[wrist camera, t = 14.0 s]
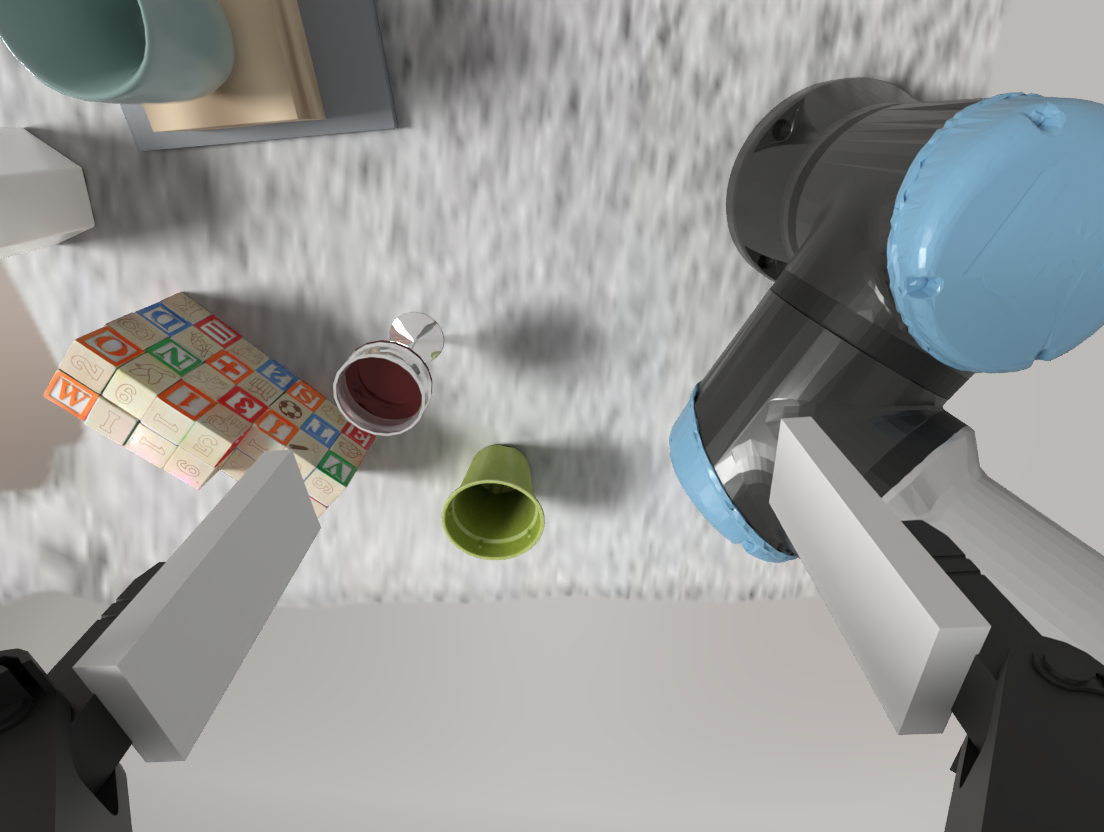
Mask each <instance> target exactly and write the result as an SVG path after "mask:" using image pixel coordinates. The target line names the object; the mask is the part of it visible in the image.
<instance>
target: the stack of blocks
mask: <svg viewBox="0 0 1104 832" xmlns="http://www.w3.org/2000/svg"><path fill="white" fill-rule="evenodd" d="M59 368H60V369H58V370H57V371H56V373H55V374H54V376H53V378H52V380H51V382H50V384H49V385H48V387H47V389H46V391H45V393H44V397H45V398H47V399H48V400H50V401H52V402H53V403H55V404H56V405H58V406H60V407H62V408H63V409H65V410H66V411H68V412H69V413H71V414H73V415H74V416H76V417H78V418H79V419H81V420H83V421H85V424H86V425H87V426H89V427H90V428H92V429H94V430H95V431H97V432H99V433H100V434H102V435H104V436H105V437H107V438H109V439H110V440H112V441H114V442H116V443H117V444H119V445H121V446H123V445H125V447H126V448H127V449H128V450H130V451H131V452H133V453H135V454H136V455H138V456H140V457H141V458H143V459H145V460H147V461H148V462H150V463H152V464H153V465H155V466H157V467H159V468H163V469H164V471H166V472H168V473H169V474H171V475H173V476H175V477H176V478H178V479H180V480H181V481H183V482H185V483H186V484H188V485H190V486H192V487H193V488H195V489H197V490H199V489H200V488H201V487H202V486H203V485H204V484H205V483H206V482H207V481H208V480H209V479H211V478H212V477H213V476H214V475H215V474H216V473H217V472H218V471H219V470H221V471H222V472H224V473H226V474H227V475H229V476H230V477H232V478H234V479H235V480H237V481H239V480H240V478H241V477H242V476H243V475H244V474H245V473H246V472H247V471H248V469H249V468H250V467H251V466H252V465H253V464H254V463H255V462H256V461H257V459H258V458H259V457H260V456H261V455H262V454H263V453H264V452H265V451H275V450H291V449H292V450H293V453H294V456H295V459H296V461H297V464H298V467H299V470H300V472H301V475H302V478H303V480H304V483H305V486H306V489H307V491H308V494H309V497H310V500H311V502H312V505H313V508H314V510H315V513H316V516H317V519H318V518H319V516H320V515H321V514H322V513H323V512H324V511H325V510H326V509H327V508H328V506H329V505H330V504H331V503H332V502H333V501H334V500H335V499H336V498H337V497H338V496H339V495H340V494H341V493H342V492H343V491H344V490H345V489H346V487H347V486H348V484H349V483H350V481H351V479H352V477H353V476H354V474H355V472H356V470H357V467H358V466H359V464H360V463H361V461H362V459H363V458H364V456H365V455H366V453H367V450H368V449H369V447H370V446H371V444H372V442H373V441H374V439H375V435H374V434H371V433H368V432H366V431H363V430H360V429H359V428H357V427H356V426H355V425H353V424H352V423H350V422H349V421H348V420H347V419H346V418H345V417H344V415H343V414H342V413H341V412H340V411H339V408H338V407H337V406H336V405H334V404H333V403H332V402H330V401H329V400H327V399H325V398H324V397H323V396H322V395H321V394H319V393H318V392H317V391H315V390H314V389H313V388H311V387H310V386H309V385H307V384H306V383H305V382H303V381H302V380H300V379H298V378H297V377H296V376H294V375H293V374H291V373H290V372H289V371H287V370H286V369H285V368H283V367H282V366H280V365H279V364H278V363H276V362H275V361H274V360H272V359H270V358H269V357H268V356H267V355H265V354H264V353H262V352H261V351H260V350H258V349H257V348H256V347H254V346H253V345H252V344H250V343H249V342H247V341H246V340H245V339H243V338H242V336H240V335H239V334H238V333H236V332H235V331H234V330H232V329H231V328H230V327H228V326H227V325H226V324H224V323H223V322H222V321H220V320H219V319H217V318H216V317H215V316H213V315H212V314H211V313H210V312H208V311H207V310H206V309H204V308H203V307H202V306H200V305H199V304H198V303H196V302H195V301H194V300H192V299H191V298H189V297H188V296H187V295H185V294H184V293H182V292H180V293H177V294H175V295H173V296H171V297H168V298H166V299H164V300H162V301H160V302H158V303H156V304H153V305H151V306H148V307H146V308H144V309H141V310H139V311H136V312H135V313H130V314H128V315H125V316H123V317H120V318H118V319H116V320H113V321H111V322H109V323H107V324H105V326H104V327H103V328H100V329H98V330H96V331H93V332H91V333H89V334H86V335H84V336H82V337H80V338H77V339H75V340H74V341H73V343H72V345H71V347H70V348H69V350H68V352H67V353H66V355H65V357H64V358H63V360H62V362H61V363H60V365H59Z"/></svg>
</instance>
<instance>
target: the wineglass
mask: <svg viewBox="0 0 1104 832" xmlns="http://www.w3.org/2000/svg"><path fill="white" fill-rule="evenodd" d="M443 343H444V337H443V334H442V330H441V329H440V327H439V326H438V324H437V323H436V322H435V321H434V320H433V319H432V318H430V317H429V316H427V315H424V314H422V313H415V312H411V313H405V314H403V315H401V316H399V317H398V318H397V319H396V320H395V321H394V322H393V323H392V326H391V329H390V341H384V340H381V341H375V342H370V343H366V344H365V345H363V346H361V347H359V348H358V349H356V350H355V351H354V352H353V353H352V354H351V355H350V357H349V358H348V359H347V360H346V362H345V363H344V365H343V366H342V367H341V368H340V370H339V371H338V372H337V373H336V377H335V380H334V383H333V392H334V399H335V401H336V404H337V406H338V408H339V411H340V412H341V413H342V414H343V415H344V417H345V418H346V419H347V420H348V421H349V422H350V423H352V424H353V425H355V426H356V427H357V428H359V429H360V430H363V431H366V432H368V433H371V434H374V435H382V436H391V435H397V434H401V433H403V432H405V431H407V430H409V429H411V428H413V426H414V425H415V424H416V423H417V422H418V421H419V420H420V419H421V416H422V414H423V411H424V409H425V408H426V407H427V405H428V403H429V400H430V398H431V394H432V378H431V375H430V372H429V369H428V366H427V365H426V363H425V362H429V361H431V360H433V359H435V358H436V357H437V356H438V355H439V354H440V353H441V350H442V348H443Z"/></svg>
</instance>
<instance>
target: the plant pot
mask: <svg viewBox="0 0 1104 832" xmlns="http://www.w3.org/2000/svg"><path fill="white" fill-rule="evenodd" d="M507 486H510V487H507ZM441 519H442V526H443V529H444V532H445V534H446V535H447V537H448V538H449V540H450V541H451V542H452V543H453V544H454V545H455V546H456V547H457V548H459V549H460V550H462V551H463V552H465V553H467V554H469V555H471V556H474V557H477V558H481V559H486V560H505V559H510V558H514V557H516V556H519V555H521V554H523V553H525V552H527V551H528V550H530V549H531V548H532V547H533V546H534V545H535V544H536V543H537V542H538V540H539V539H540V537H541V535H542V533H543V530H544V525H545V518H544V512H543V509H542V507H541V505H540V503H539V502H538V500H537V499H536V497H535V495H534V490H533V485H532V478H531V472H530V466H529V463H528V461H527V459H526V457H525V456H524V455H523V454H522V453H521V452H520V451H519V450H517V449H515V448H513V447H506V446H501V445H492V446H489V447H486V448H484V449H482V450H481V451H480V452H478V453H477V455H476V456H475V457H474V459H473V461H472V463H471V465H470V467H469V470H468V472H467V474H466V476H465V478H464V480H463V482H462V484H461V486H460V487H459V488H458V489H456V490H455V491H454V492H453V493H452V494H451V495H450V496H449V498H448V499H447V501H446V503H445V505H444V507H443V510H442V518H441Z"/></svg>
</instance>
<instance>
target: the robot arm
mask: <svg viewBox="0 0 1104 832" xmlns="http://www.w3.org/2000/svg"><path fill="white" fill-rule="evenodd" d="M726 214H727V222H728V227H729V231H730V234H731V237H732V239H733V242H734V244H735V246H736V248H737V249H738V251H739V252H740V254H741V255H742V257H743V258H744V259H745V260H746V261H747V262H748V263H749V264H750V265H751V266H752V267H753V268H754V269H756V270H757V271H758V272H760V273H761V274H762V275H764V276H765V277H767V278H768V279H770V280H772V281H774V282H775V283H774V284H773V286H772V287H771V288H770V289H769V290H768V292H767V293H766V295H765V296H764V297H763V299H762V300H761V302H760V303H759V304H758V306H757V307H756V308H755V310H754V311H753V313H752V314H751V315H750V317H749V318H748V319H747V321H746V322H745V323H744V325H743V326H742V328H741V329H740V330H739V332H738V333H737V334H736V336H735V337H734V338H733V340H732V341H731V342H730V344H729V345H728V346H727V348H726V349H725V350H724V352H723V353H722V355H721V356H720V357H719V359H718V360H717V361H716V363H715V364H714V365H713V367H712V368H711V369H710V371H709V372H708V373H707V375H706V376H705V378H704V379H703V380H702V381H700V382H699V383H697V385H696V386H695V387H694V389H693V391H692V393H691V396H690V400H689V402H688V403H687V405H686V406H685V408H684V410H683V411H682V413H681V414H680V416H679V417H678V419H677V420H676V422H675V423H674V425H673V427H672V430H671V433H670V438H669V444H670V450H671V451H670V458H671V462H672V465H673V468H674V471H675V473H676V476H677V478H678V480H679V482H680V484H681V485H682V487H683V489H684V490H685V492H686V494H687V495H688V496H689V498H690V499H691V501H692V502H693V503H694V505H695V506H696V507H697V509H698V510H699V511H700V512H701V514H702V515H703V516H704V517H705V518H706V519H707V520H708V521H709V522H710V524H711V525H712V526H713V527H714V528H716V529H717V530H718V531H719V532H720V533H721V534H722V535H723V536H725V537H726V538H727V539H728V540H730V541H731V542H732V543H734V544H737V543H741V545H742V546H743V548H744V549H745V550H746V552H747V553H749V554H750V555H752V556H754V557H756V558H759V559H761V560H764V561H768V562H775V563H781V562H785V561H787V560H793V559H796V558H798V557H799V558H800V559H801V561H802V563H803V565H804V566H805V568H806V570H807V572H808V574H809V575H810V577H811V579H812V581H813V583H814V584H815V586H816V588H817V590H818V592H819V593H820V595H821V597H822V599H823V600H824V602H825V604H826V606H827V608H828V610H829V611H830V613H831V615H832V617H833V618H834V620H835V622H836V624H837V626H838V627H839V629H840V631H841V633H842V635H843V636H844V638H845V640H846V642H847V644H848V645H849V647H850V649H851V651H852V652H853V654H854V656H855V658H856V660H857V661H858V663H859V665H860V667H861V669H862V671H863V672H864V674H865V676H866V678H867V679H868V681H869V683H870V685H871V687H872V689H873V690H874V692H875V694H876V696H877V697H878V699H879V701H880V703H881V704H882V707H883V708H884V710H885V712H886V714H887V716H888V717H889V719H890V721H891V723H892V724H893V726H894V728H895V730H896V732H897V733H898V735H905V734H906V735H908V734H936V733H943V731H944V729H945V727H946V725H947V723H948V720H949V718H950V716H951V714H952V712H953V714H954V715H955V717H956V718H957V720H958V721H959V723H960V724H961V726H962V727H963V729H964V730H965V732H966V733H967V736H966V738H965V740H964V742H963V744H962V746H961V748H960V750H959V752H958V754H957V756H956V758H955V760H954V762H953V764H952V766H951V768H950V770H951V771H953V772H955V773H956V777H955V782H954V787H953V792H952V797H951V802H950V806H949V811H948V816H947V822H946V826H945V831H944V832H1104V556H1103V555H1101V554H1100V553H1098V552H1097V551H1096V550H1094V549H1093V548H1091V547H1090V546H1088V545H1087V544H1085V543H1084V542H1082V541H1081V540H1080V539H1078V538H1077V537H1075V536H1074V535H1072V534H1071V533H1069V532H1068V531H1066V530H1065V529H1064V528H1062V527H1061V526H1059V525H1058V524H1057V523H1055V522H1054V521H1052V520H1051V519H1049V518H1048V517H1046V516H1045V515H1043V514H1042V513H1041V512H1039V511H1037V510H1036V509H1035V508H1033V507H1032V506H1030V505H1029V504H1027V503H1026V502H1025V501H1023V500H1021V499H1020V498H1019V497H1017V496H1016V495H1014V494H1013V493H1012V492H1010V491H1009V490H1007V489H1006V488H1004V487H1003V486H1001V485H1000V484H998V483H997V482H995V481H994V480H993V479H991V478H990V477H988V476H987V474H986V473H985V472H984V471H983V470H982V469H981V467H980V464H979V458H978V451H977V444H976V438H975V431H974V430H973V429H972V428H970V427H969V426H968V425H966V424H965V423H963V422H961V421H960V420H958V419H957V418H955V417H954V416H953V415H951V414H950V413H948V412H946V411H945V410H944V409H943V405H944V404H945V403H946V401H947V400H948V399H950V398H951V397H952V396H953V395H954V393H955V392H956V391H957V390H958V389H959V388H960V387H961V386H962V385H963V384H964V383H965V382H966V381H967V380H968V379H969V378H970V377H971V376H972V375H973V374H974V373H982V372H986V373H1006V372H1015V371H1020V370H1024V369H1027V368H1029V367H1031V365H1032V364H1033V362H1034V360H1037V359H1038V360H1039V359H1040V360H1045V361H1051V360H1053V359H1055V358H1057V357H1059V356H1061V355H1063V354H1065V353H1067V352H1068V351H1070V350H1072V349H1073V348H1075V347H1076V346H1077V345H1079V344H1080V343H1082V342H1083V341H1084V340H1086V339H1087V338H1088V337H1090V336H1091V335H1093V334H1094V333H1095V332H1096V331H1097V330H1098V329H1099V328H1101V327H1102V326H1103V325H1104V105H1103V104H1100V103H1096V102H1093V101H1088V100H1081V99H1073V98H1056V97H1043V96H1041V95H1038V94H1033V93H1030V94H1028V95H1025V94H1024V93H1023V92H1020V93H1006V94H1000V95H996V96H993V97H990V98H979V99H964V100H949V101H935V102H920V103H919V102H918V101H917V100H915V99H914V98H913V97H912V96H911V95H910V94H908V93H907V92H906V91H904V90H903V89H901V88H899V87H897V86H895V85H893V84H890V83H888V82H885V81H881V80H877V79H871V78H845V79H838V80H831V81H826V82H822V83H819V84H815V85H812V86H810V87H807V88H805V89H803V90H801V91H799V92H797V93H795V94H793V95H791V96H790V97H788V98H787V99H785V100H784V101H782V102H781V103H780V104H778V105H777V106H776V107H775V108H774V109H772V110H771V111H770V112H769V113H768V114H767V115H766V116H765V117H764V118H763V119H762V120H761V121H760V122H759V123H758V125H757V126H756V127H755V128H754V130H753V131H752V132H751V134H750V135H749V137H748V138H747V140H746V141H745V143H744V145H743V146H742V148H741V150H740V152H739V154H738V156H737V158H736V161H735V163H734V166H733V169H732V172H731V175H730V179H729V183H728V189H727V197H726ZM320 528H321V527H320V524H319V521H318V519H317V516H316V513H315V510H314V508H313V505H312V502H311V500H310V497H309V494H308V491H307V489H306V486H305V483H304V480H303V478H302V475H301V472H300V470H299V467H298V464H297V461H296V459H295V456H294V453H293V450H292V449H291V450H275V451H265V452H264V453H263V454H262V455H261V456H260V457H259V458H258V459H257V461H256V462H255V463H254V464H253V465H252V466H251V467H250V468H249V469H248V471H247V472H246V473H245V474H244V475H243V476H242V477H241V478H240V480H239V481H238V482H237V483H236V484H235V485H234V486H233V487H232V489H231V490H230V491H229V492H228V493H227V494H226V495H225V496H224V498H223V499H222V500H221V501H220V502H219V503H218V504H217V505H216V507H215V508H214V509H213V510H212V511H211V512H210V513H209V514H208V516H207V517H206V518H205V519H204V520H203V521H202V522H201V523H200V525H199V526H198V527H197V528H196V529H195V530H194V531H193V532H192V534H191V535H190V536H189V537H188V538H187V539H186V540H185V541H184V543H183V544H182V545H181V546H180V547H179V548H178V549H177V550H176V552H175V553H174V554H173V555H172V556H171V557H170V558H169V559H168V561H167V562H159V563H157V564H156V565H155V566H153V567H152V568H150V569H149V570H148V571H146V572H145V573H143V574H142V575H141V576H139V577H138V578H136V579H135V580H134V581H133V582H132V583H131V584H130V585H129V586H128V587H127V588H126V590H125V591H124V592H123V593H122V594H121V595H120V596H119V597H118V598H117V599H116V600H117V601H116V603H113V604H112V605H111V606H110V607H109V608H108V609H107V610H106V611H105V612H104V613H103V614H102V618H101V620H97V621H96V622H95V623H94V624H93V625H92V626H91V627H90V628H89V630H88V631H87V632H86V633H85V634H84V635H83V636H82V637H81V639H79V640H78V642H77V643H76V644H75V645H74V646H73V647H72V648H71V649H70V650H69V651H68V652H67V653H66V655H65V656H64V657H63V658H62V659H61V660H60V661H59V662H58V663H57V664H56V665H55V666H54V667H53V669H52V670H51V671H50V672H49V673H48V674H46V673H45V672H44V671H43V669H42V668H41V667H40V666H39V664H38V663H37V662H36V661H35V660H34V658H33V657H32V656H31V655H30V654H29V652H28V651H25V650H21V649H10V650H3V651H0V832H132V825H131V815H130V807H129V796H128V788H127V778H126V773H125V771H124V769H123V767H122V766H121V764H120V763H119V761H120V760H121V759H122V757H123V756H124V754H125V753H126V751H127V750H128V749H129V747H130V746H131V744H132V745H133V746H134V748H135V749H136V750H137V752H138V753H139V754H140V755H141V757H142V758H143V759H144V761H145V762H168V761H185V760H186V758H187V756H188V755H189V753H190V751H191V750H192V748H193V746H194V744H195V743H196V741H197V739H198V738H199V736H200V734H201V732H202V731H203V729H204V727H205V725H206V724H207V722H208V720H209V719H210V717H211V715H212V714H213V712H214V710H215V708H216V707H217V705H218V703H219V702H220V700H221V698H222V696H223V695H224V693H225V691H226V690H227V688H228V686H229V684H230V683H231V681H232V679H233V677H234V676H235V674H236V672H237V670H238V669H239V667H240V666H241V664H242V662H243V660H244V659H245V657H246V655H247V653H248V652H249V650H250V648H251V646H252V645H253V643H254V641H255V640H256V638H257V636H258V635H259V633H260V631H261V630H262V628H263V626H264V624H265V623H266V621H267V619H268V617H269V616H270V614H271V612H272V611H273V609H274V607H275V606H276V604H277V602H278V600H279V599H280V597H281V595H282V594H283V592H284V590H285V588H286V587H287V585H288V583H289V582H290V580H291V578H292V576H293V575H294V573H295V571H296V570H297V568H298V566H299V564H300V563H301V561H302V559H303V558H304V556H305V554H306V552H307V551H308V549H309V547H310V546H311V544H312V542H313V540H314V539H315V537H316V535H317V534H318V532H319V530H320Z"/></svg>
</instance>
